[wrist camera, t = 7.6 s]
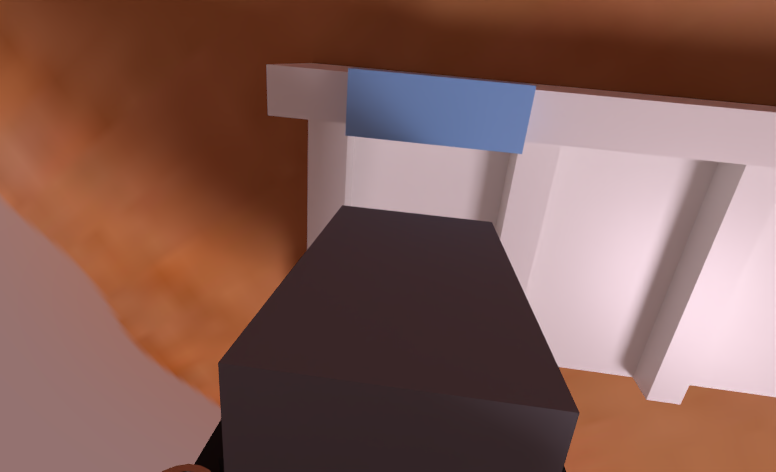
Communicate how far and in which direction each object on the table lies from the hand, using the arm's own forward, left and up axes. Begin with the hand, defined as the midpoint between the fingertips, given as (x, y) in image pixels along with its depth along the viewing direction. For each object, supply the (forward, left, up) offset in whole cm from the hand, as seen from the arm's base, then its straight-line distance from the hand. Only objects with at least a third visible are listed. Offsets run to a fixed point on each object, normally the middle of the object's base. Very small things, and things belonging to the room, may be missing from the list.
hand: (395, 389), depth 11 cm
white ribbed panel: (-1, +8, -10) cm, 13 cm away
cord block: (0, 0, -2) cm, 2 cm away
